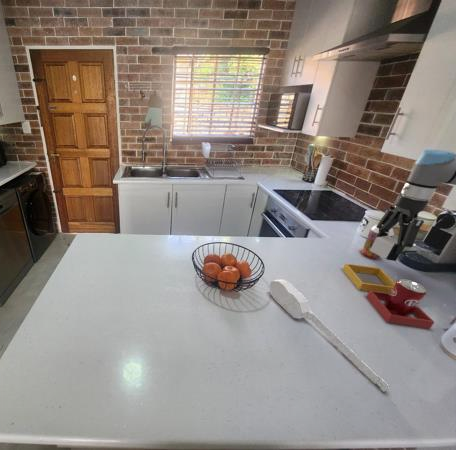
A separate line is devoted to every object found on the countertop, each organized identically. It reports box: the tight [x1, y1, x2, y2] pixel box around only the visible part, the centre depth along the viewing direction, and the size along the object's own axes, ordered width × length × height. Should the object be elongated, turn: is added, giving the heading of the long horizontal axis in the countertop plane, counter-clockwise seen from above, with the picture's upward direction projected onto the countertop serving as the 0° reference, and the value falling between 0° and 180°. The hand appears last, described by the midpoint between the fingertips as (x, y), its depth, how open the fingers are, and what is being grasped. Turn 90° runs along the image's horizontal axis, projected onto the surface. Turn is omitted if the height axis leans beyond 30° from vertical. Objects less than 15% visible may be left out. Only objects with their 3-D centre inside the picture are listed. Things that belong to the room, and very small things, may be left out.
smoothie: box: [361, 223, 395, 260], centre depth 115 cm, size 8×8×20 cm
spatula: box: [268, 279, 390, 392], centre depth 75 cm, size 38×8×4 cm
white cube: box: [370, 236, 398, 260], centre depth 93 cm, size 6×6×6 cm
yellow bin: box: [342, 263, 396, 293], centre depth 100 cm, size 13×13×4 cm
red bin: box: [365, 291, 435, 330], centre depth 85 cm, size 12×12×4 cm
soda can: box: [382, 278, 427, 317], centre depth 83 cm, size 7×7×12 cm
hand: (383, 253), depth 94 cm, fingers closed on white cube, 8 cm apart
